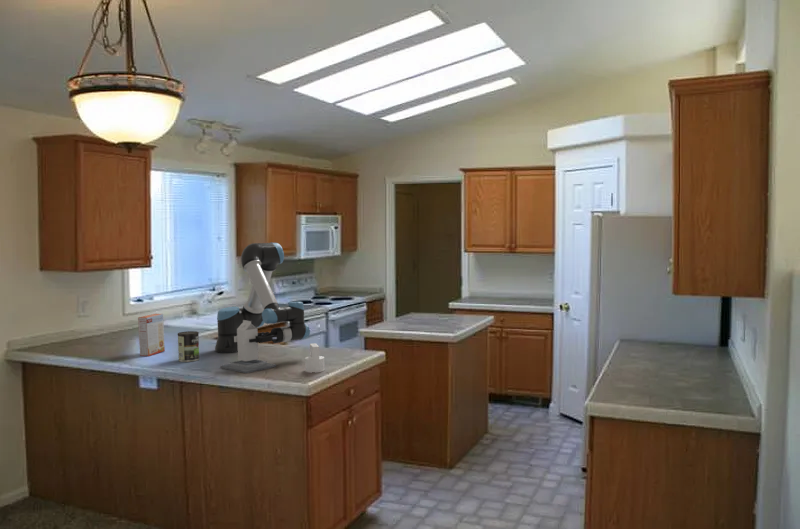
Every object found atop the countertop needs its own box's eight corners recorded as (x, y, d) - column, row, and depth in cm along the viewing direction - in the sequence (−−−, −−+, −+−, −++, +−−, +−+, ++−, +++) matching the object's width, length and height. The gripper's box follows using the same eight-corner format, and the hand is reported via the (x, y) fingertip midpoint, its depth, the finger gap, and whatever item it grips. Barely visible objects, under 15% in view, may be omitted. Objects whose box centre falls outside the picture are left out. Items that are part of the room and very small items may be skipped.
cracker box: (155, 351, 365) (154, 313, 364) (165, 351, 364) (163, 313, 362) (138, 356, 352) (137, 316, 351) (148, 356, 350) (147, 317, 349)
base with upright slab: (326, 371, 309) (325, 346, 308) (306, 373, 306) (306, 347, 306) (322, 367, 318) (322, 342, 317) (304, 369, 315) (303, 344, 314)
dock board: (220, 367, 320) (220, 365, 320) (250, 361, 334) (250, 359, 334) (245, 373, 307) (245, 371, 307) (276, 366, 321) (276, 364, 321)
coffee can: (203, 358, 344) (202, 331, 343) (193, 362, 334) (192, 334, 333) (185, 357, 346) (184, 330, 345) (174, 361, 336) (173, 334, 335)
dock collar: (229, 365, 320) (229, 362, 320) (251, 361, 329) (250, 358, 329) (245, 369, 312) (245, 365, 312) (266, 364, 321) (266, 361, 321)
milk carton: (250, 357, 326) (249, 319, 324) (258, 359, 321) (257, 320, 319) (237, 359, 321) (236, 320, 319) (245, 361, 316) (244, 322, 314)
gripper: (291, 344, 324) (248, 351, 309) (270, 339, 339) (229, 345, 325) (290, 329, 323) (247, 335, 309) (270, 325, 339) (228, 330, 324)
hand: (238, 340), depth 317 cm, fingers closed on milk carton, 8 cm apart
